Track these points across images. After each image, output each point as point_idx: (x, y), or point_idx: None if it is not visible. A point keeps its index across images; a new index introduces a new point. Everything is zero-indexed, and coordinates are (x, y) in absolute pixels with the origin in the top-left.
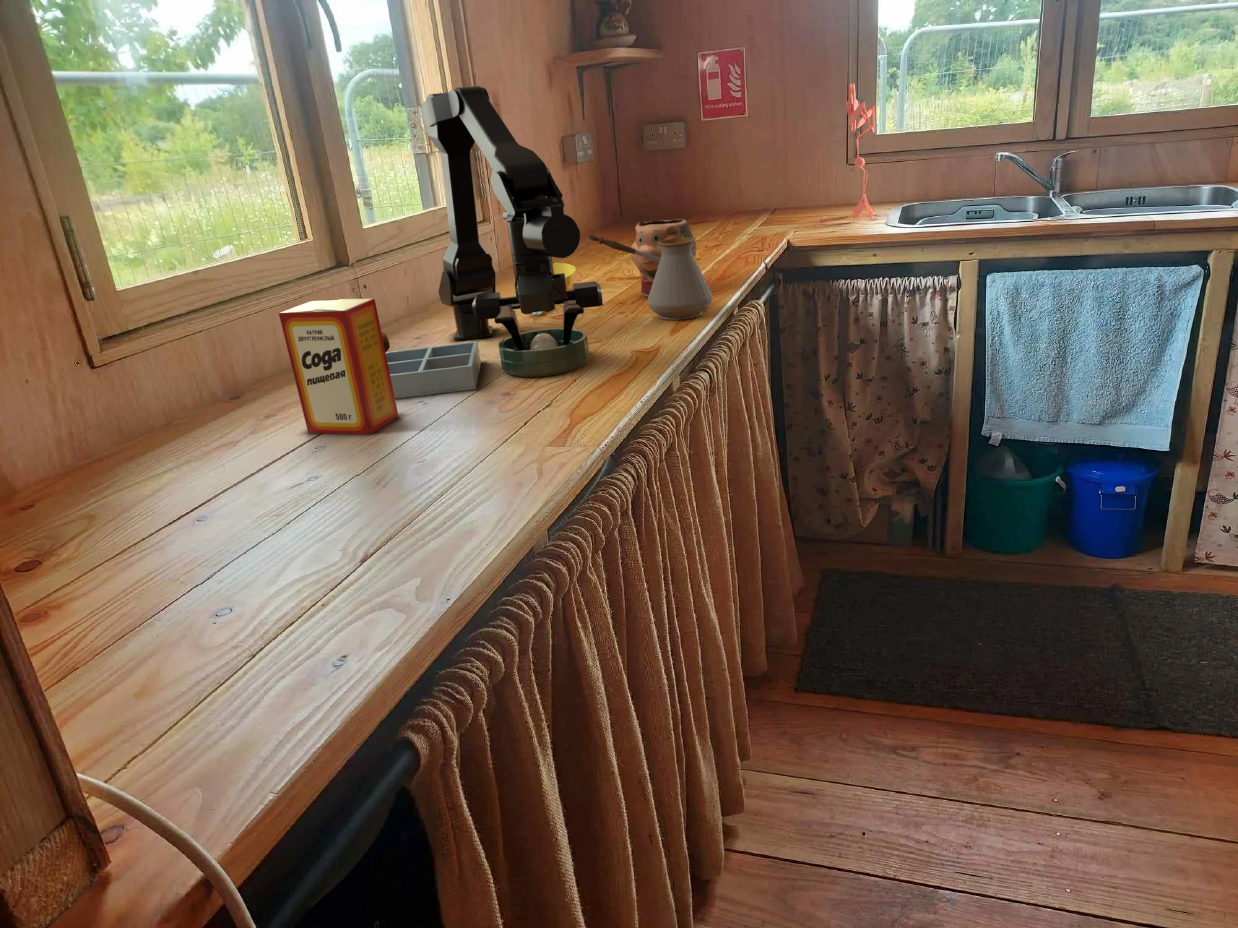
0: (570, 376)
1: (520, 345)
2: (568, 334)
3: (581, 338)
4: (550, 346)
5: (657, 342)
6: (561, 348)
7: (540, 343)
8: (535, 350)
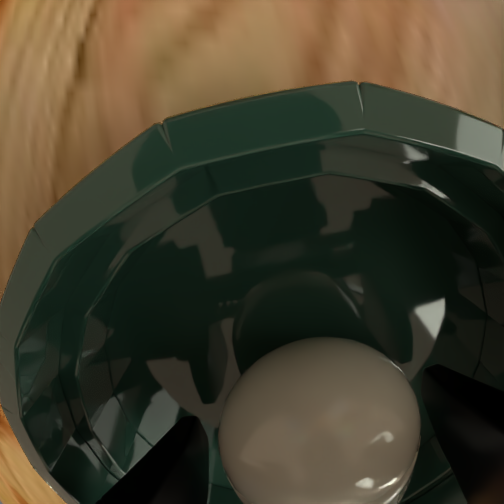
0: (112, 133)
1: (490, 405)
2: (113, 502)
3: (25, 434)
4: (255, 414)
5: (8, 466)
6: (59, 200)
7: (349, 427)
8: (376, 107)
